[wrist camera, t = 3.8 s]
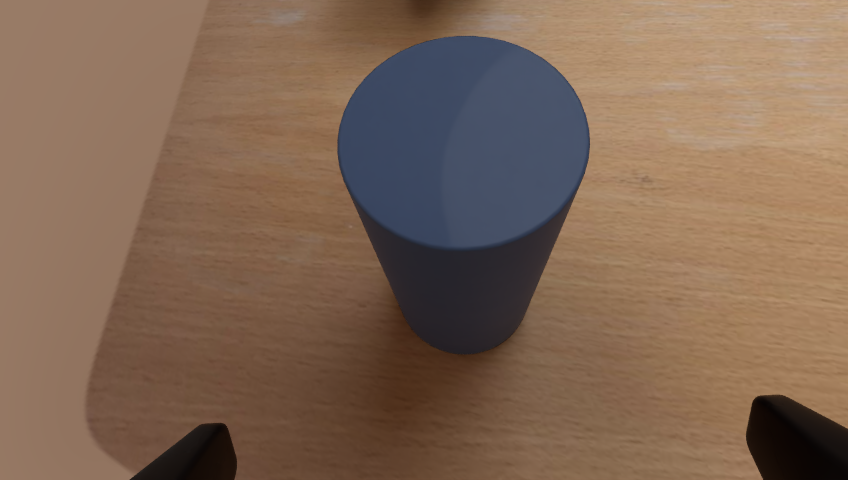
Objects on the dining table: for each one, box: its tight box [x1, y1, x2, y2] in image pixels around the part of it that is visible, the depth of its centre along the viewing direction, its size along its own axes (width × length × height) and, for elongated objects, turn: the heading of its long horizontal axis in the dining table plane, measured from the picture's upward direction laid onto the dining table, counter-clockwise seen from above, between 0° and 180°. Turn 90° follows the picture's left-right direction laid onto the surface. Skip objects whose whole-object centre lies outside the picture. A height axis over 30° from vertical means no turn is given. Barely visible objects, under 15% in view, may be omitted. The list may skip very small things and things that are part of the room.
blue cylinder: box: [338, 36, 590, 354], centre depth 17 cm, size 6×6×12 cm
